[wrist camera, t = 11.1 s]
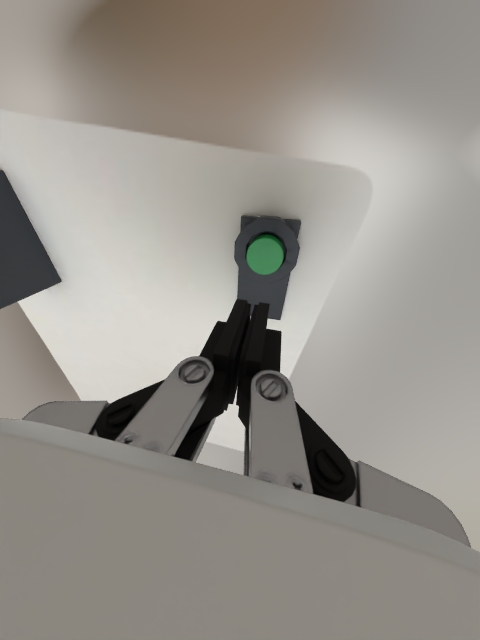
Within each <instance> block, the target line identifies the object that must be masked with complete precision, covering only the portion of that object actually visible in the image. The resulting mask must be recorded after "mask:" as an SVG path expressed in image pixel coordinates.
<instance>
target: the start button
mask: <svg viewBox="0 0 480 640" xmlns="http://www.w3.org/2000/svg"><path fill="white" fill-rule="evenodd" d="M283 253H284V252H283V246H282V243H281V242H280V241H279V239H277V238H276V237H275V236H272V235H268V234H265V235H260V236H258V237H257V238H255V239H254V240H253V241H252V243H251V244H250V246H249V248H248V250H247V255H246V258H247V263H248V265H249V267H250V268H251V269H252V270H253V271H254V272H256V273H258V274H262V275H268V274H271V273H274V272H275V271H276V270H278V269H279V267H280V266H281V264H282V262H283Z"/></svg>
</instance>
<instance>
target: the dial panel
mask: <svg viewBox="0 0 480 640" xmlns="http://www.w3.org/2000/svg"><path fill="white" fill-rule="evenodd" d="M60 282H62V281H61V279H60V278H59V276H58V274H57V272H56V270H55V268H54V266H53V264H52V263H51V261H50V259H49V257H48V255H47V253H46V251H45V249H44V247H43V246H42V244H41V242H40V240H39V238H38V236H37V234H36V232H35V231H34V229H33V227H32V225H31V223H30V221H29V219H28V217H27V215H26V214H25V212H24V210H23V208H22V206H21V204H20V202H19V200H18V199H17V197H16V195H15V193H14V191H13V189H12V187H11V185H10V183H9V182H8V180H7V178H6V176H5V174H4V172H3V171H1V170H0V309H1V308H4V307H6V306H8V305H11V304H13V303H15V302H17V301H20V300H22V299H24V298H26V297H29V296H31V295H33V294H35V293H38V292H40V291H42V290H44V289H47V288H49V287H51V286H53V285H56V284H58V283H60Z"/></svg>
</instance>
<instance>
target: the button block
mask: <svg viewBox="0 0 480 640" xmlns="http://www.w3.org/2000/svg"><path fill="white" fill-rule="evenodd" d="M300 225H301V220H292V219H282V218H280V217H274V216H260V217H257V216H245V215H243V216H241V232H240V234H239V236H238V237H237V239H236V241H235V255H234V258H235V261H236V263H237V265H238V267H239V274H238V295H237V299H241V300H248V303H250V304H251V314H250V316H251V315H252V312H253V308H254V304H256V305H259V302H262V303H269V304H270V306H269V313H268V318H269V319H276V320H280V319H281V314H282V309H283V305H284V300H285V295H286V290H287V286H288V281H289V276H290V272H291V270H292V269H293V268H294V267H295V265H296V263H297V258H298V254H299V248H300V247H299V243H298V240H297V239H298V234H299V229H300ZM265 234H268V235H272V236H275V237H276V238H277V239H279V241H280V242H281V243H282V246H283V252H284V253H283V262H282V264H281V266H280V267H279V269H278V270H276V271H275V272H274V273H271V274H268V275H262V274H258V273H256V272H254V271H253V270H252V269H251V268H250V267H249V265H248V263H247V258H246V255H247V250H248V248H249V246H250V244H251V243H252V241H253V240H254V239H255V238H257V237H258V236H260V235H265Z"/></svg>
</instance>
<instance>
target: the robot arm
mask: <svg viewBox="0 0 480 640" xmlns="http://www.w3.org/2000/svg"><path fill="white" fill-rule="evenodd" d="M269 306H270V304H269V303H262V302H259V305H256V304H254V308H253V312H252V315H251V319H250V314H251V304H250V303H248V300H241V299H237V300H236V302H235V304H234V306H233V309H232V311H231V313H230V316H229V318H228V320H227V322H221V321H218V322H217V323H216V325H215V327H214V329H213V331H212V332H211V334H210V336H209V338H208V340H207V342H206V344H205V346H204V348H203V350H202V352H201V354H200V356H195V357H190V358H186V359H185V360H183V361H181V362H180V363H179V364H178V365H177V366H176V367H175V368H174V370H173V371H172V372H171V373H170V374H169V376H168V377H167V378H166V379H165V380H163V381H160V382H158V383H156V384H153V385H151V386H149V387H146V388H144V389H142V390H139V391H137V392H135V393H132V394H130V395H128V396H125V397H123V398H121V399H118V400H116V401H115V402H113V403H108V402H107V401H55V402H49V403H46V404H43V405H41V406H38V407H37V408H35V409H34V410H32V411H30V412H29V413H28V414H27V415H26V416H25V417H24V418H23V419H22V420H20V419H8V418H0V640H480V552H478V551H476V550H474V549H472V548H471V546H470V543H469V540H468V537H467V535H466V533H465V531H464V529H463V527H462V525H461V523H460V522H459V521H458V519H457V518H456V516H455V515H454V514H453V512H452V511H451V510H450V509H449V508H448V507H447V506H445V505H444V504H443V503H442V502H441V501H440V500H438V499H437V498H435V497H434V496H432V495H431V494H429V493H427V492H425V491H423V490H420V489H418V488H416V487H414V486H412V485H410V484H407V483H405V482H403V481H401V480H399V479H397V478H395V477H393V476H391V475H389V474H386V473H384V472H382V471H380V470H378V469H376V468H374V467H372V466H370V465H368V464H365V463H363V462H361V461H358V462H354V461H352V460H350V459H348V457H347V456H346V455H345V454H344V452H343V451H342V450H341V449H340V448H339V447H338V446H337V445H336V444H335V443H334V442H333V441H332V439H331V438H330V437H329V436H328V435H327V434H326V433H325V432H324V431H323V430H322V429H321V428H320V427H319V426H318V425H317V424H316V422H315V421H313V420H312V418H311V417H310V416H309V415H308V414H307V413H306V412H305V411H304V410H303V409H302V408H301V407H300V406H299V405H298V403H297V402H296V401H295V399H294V394H293V389H292V386H291V383H290V381H289V380H288V379H287V377H285V376H284V375H283V374H281V373H280V357H281V331H277V330H271V329H266V326H267V319H268V313H269ZM237 386H238V388H237ZM236 390H237V402H236V405H238V406H239V413H238V417H239V418H240V420H241V421H242V423H243V425H244V426H245V441H244V475H240V474H236V473H233V472H229V471H225V470H222V469H218V468H214V467H210V466H207V465H203V464H199V463H196V460H197V458H198V456H199V454H200V452H201V450H202V448H203V445H204V443H205V441H206V439H207V437H208V435H209V433H210V431H211V428H212V426H213V424H214V422H215V419H216V417H217V416H219V415H221V414H222V413H223V412H224V410H226V411H227V408H228V404H233V402H234V398H235V394H236Z"/></svg>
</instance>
